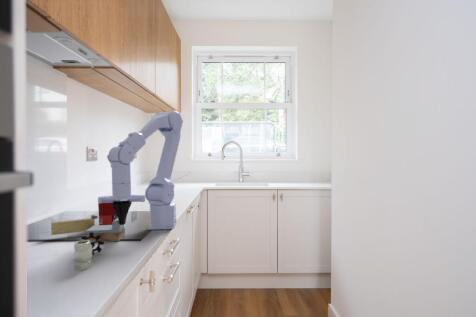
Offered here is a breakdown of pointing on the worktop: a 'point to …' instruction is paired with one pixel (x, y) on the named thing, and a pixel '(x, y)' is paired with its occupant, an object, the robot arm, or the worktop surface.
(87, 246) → the valve
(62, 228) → the bar
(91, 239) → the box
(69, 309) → the worktop surface
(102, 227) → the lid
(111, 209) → the canned food
